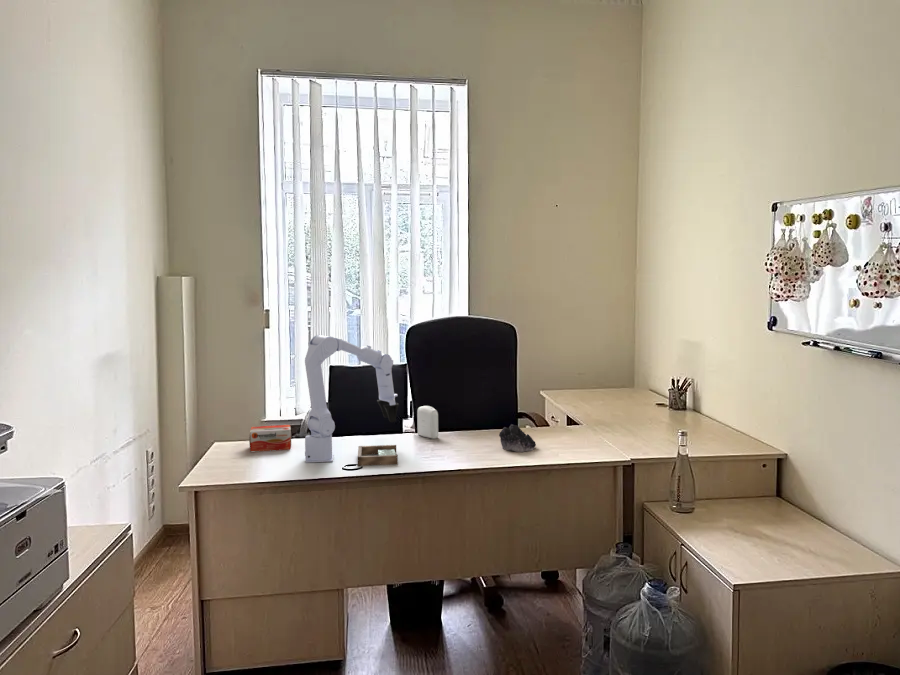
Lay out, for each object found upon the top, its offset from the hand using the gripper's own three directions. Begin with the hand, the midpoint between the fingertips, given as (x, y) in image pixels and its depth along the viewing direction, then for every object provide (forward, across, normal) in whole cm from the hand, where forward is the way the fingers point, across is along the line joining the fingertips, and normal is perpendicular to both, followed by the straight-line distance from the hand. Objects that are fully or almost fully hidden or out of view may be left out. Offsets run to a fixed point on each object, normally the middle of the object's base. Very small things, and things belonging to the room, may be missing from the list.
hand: (389, 419), depth 265 cm
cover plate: (+10, -16, +7) cm, 20 cm away
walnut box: (+9, -16, +10) cm, 20 cm away
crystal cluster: (+16, -20, -42) cm, 49 cm away
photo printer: (+13, +10, -17) cm, 24 cm away
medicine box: (+6, +15, +44) cm, 46 cm away
